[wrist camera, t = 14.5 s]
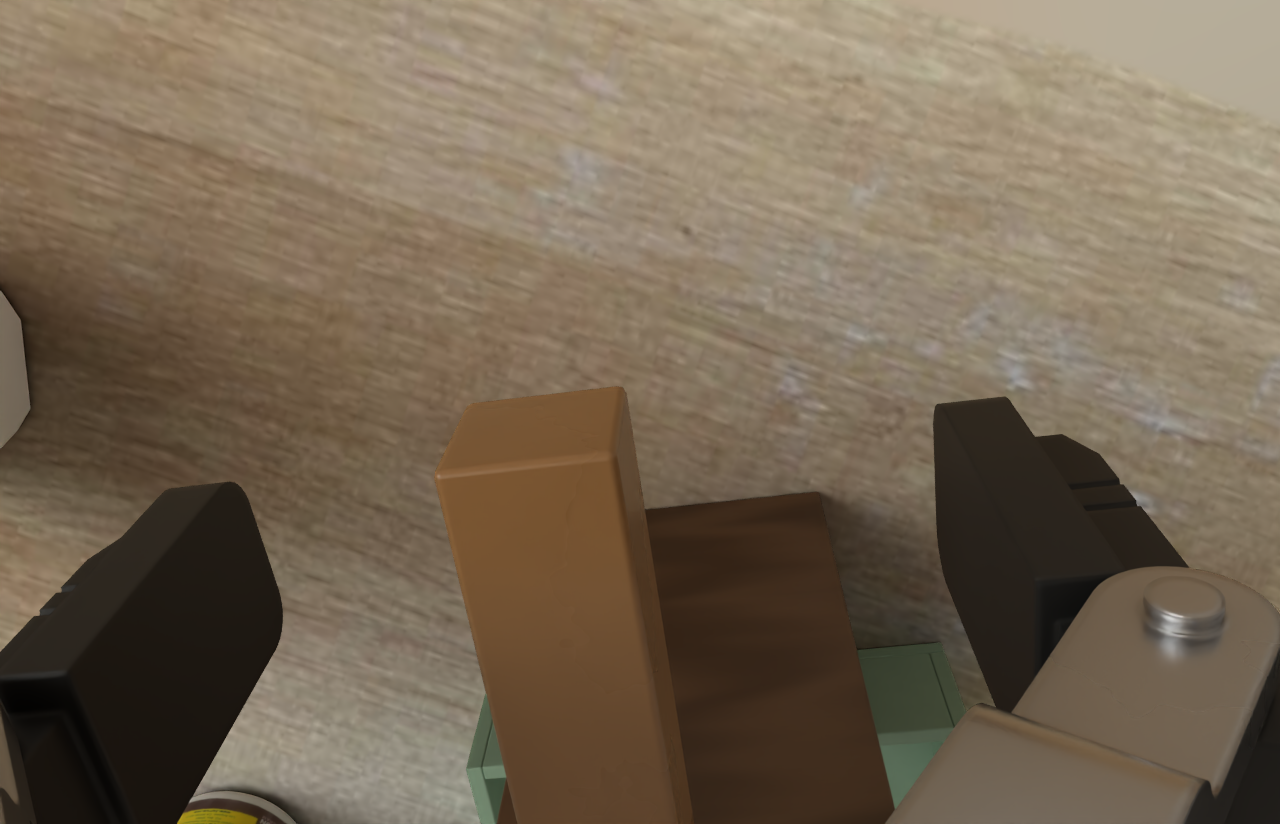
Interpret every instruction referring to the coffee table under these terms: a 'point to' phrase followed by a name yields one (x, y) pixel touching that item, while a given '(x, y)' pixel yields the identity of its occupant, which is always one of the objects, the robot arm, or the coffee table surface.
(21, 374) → the cup
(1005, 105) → the coffee table surface
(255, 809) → the supplement bottle
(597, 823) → the pan
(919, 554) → the coffee table surface
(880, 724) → the tray
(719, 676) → the block
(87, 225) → the coffee table surface
